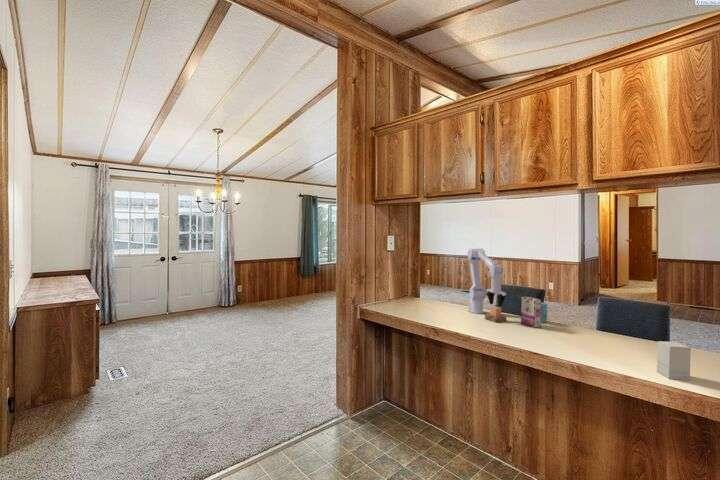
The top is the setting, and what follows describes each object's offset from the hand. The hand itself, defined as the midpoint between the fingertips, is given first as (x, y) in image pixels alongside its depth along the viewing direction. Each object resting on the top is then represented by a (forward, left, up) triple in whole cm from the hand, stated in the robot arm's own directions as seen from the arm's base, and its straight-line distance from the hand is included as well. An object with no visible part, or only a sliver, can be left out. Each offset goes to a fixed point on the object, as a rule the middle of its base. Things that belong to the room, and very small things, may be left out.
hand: (495, 305), depth 222 cm
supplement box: (+92, +2, -10) cm, 93 cm away
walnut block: (0, 0, -10) cm, 10 cm away
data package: (+11, +22, -10) cm, 26 cm away
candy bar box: (+17, +11, -10) cm, 22 cm away
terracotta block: (+1, 0, -6) cm, 6 cm away
